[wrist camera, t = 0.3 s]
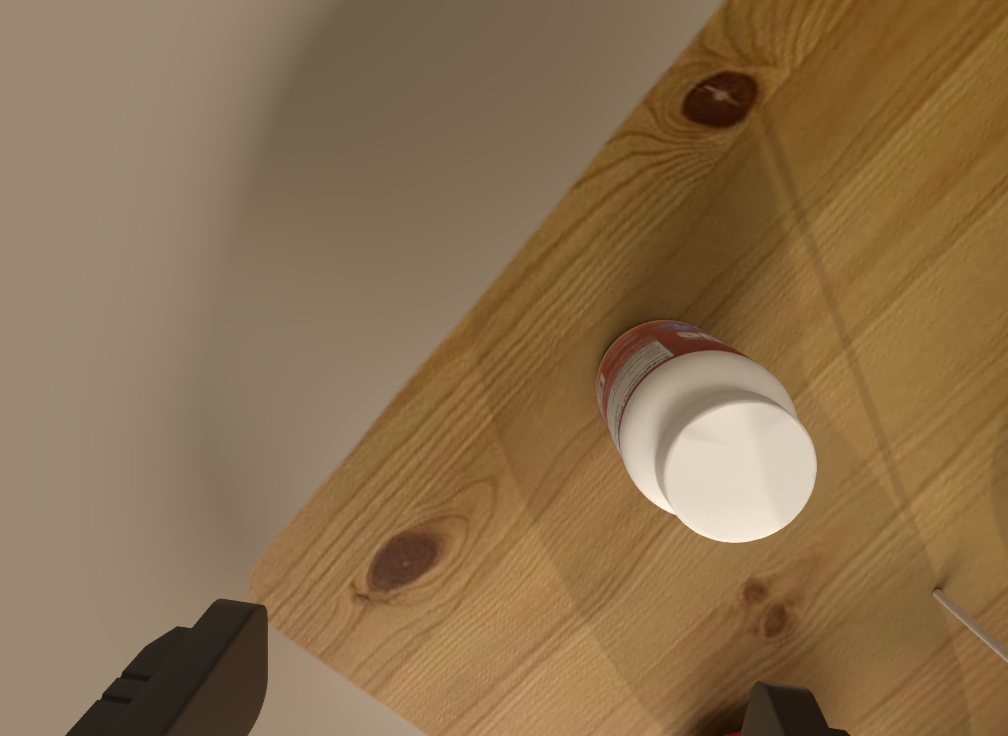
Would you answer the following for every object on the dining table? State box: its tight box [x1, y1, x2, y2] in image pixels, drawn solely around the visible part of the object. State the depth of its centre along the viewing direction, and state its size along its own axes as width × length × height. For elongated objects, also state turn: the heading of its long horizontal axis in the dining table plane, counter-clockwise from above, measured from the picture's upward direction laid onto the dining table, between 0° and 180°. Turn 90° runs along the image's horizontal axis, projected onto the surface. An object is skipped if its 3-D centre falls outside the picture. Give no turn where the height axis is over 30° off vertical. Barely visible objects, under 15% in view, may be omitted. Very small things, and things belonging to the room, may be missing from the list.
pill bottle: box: [596, 320, 817, 543], centre depth 25 cm, size 6×6×11 cm
